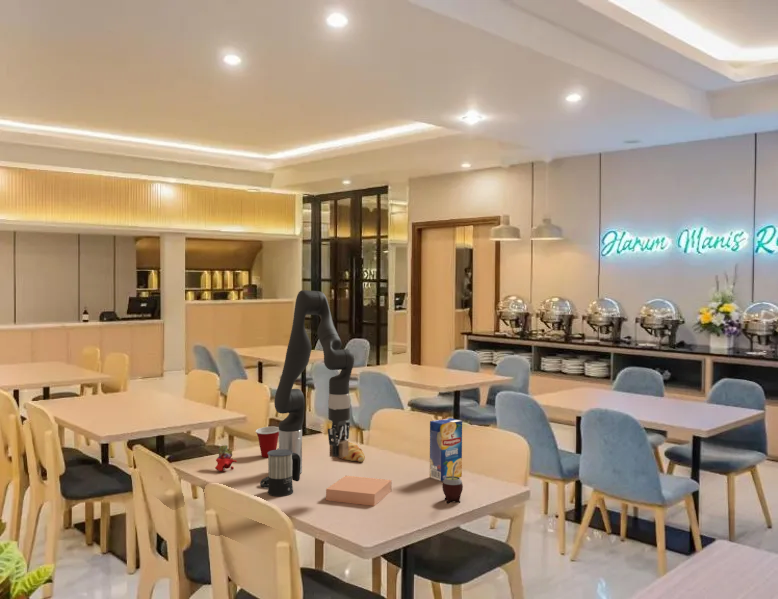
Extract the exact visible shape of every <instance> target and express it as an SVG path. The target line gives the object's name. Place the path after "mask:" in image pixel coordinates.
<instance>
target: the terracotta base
mask: <svg viewBox="0 0 778 599" xmlns="http://www.w3.org/2000/svg"><path fill="white" fill-rule="evenodd" d="M392 481H393V480H391V479H381V478H373V477H365V476H364V477H363V476H356V475H355V476H354V475H344V476H343V477H341V478H340V479H338V480H337V481H336V482H334V483H333V484H332V485H330V486H328V487H327V488H326V489H325V500H326V501H330V502H337V503H347V504H356V505H363V506H373V507H375V506H377V504H379V502H381V501H382V500H383V499H384V498H385V497H387V496H388V495H389V494H390V493H391V492H392Z"/></svg>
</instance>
